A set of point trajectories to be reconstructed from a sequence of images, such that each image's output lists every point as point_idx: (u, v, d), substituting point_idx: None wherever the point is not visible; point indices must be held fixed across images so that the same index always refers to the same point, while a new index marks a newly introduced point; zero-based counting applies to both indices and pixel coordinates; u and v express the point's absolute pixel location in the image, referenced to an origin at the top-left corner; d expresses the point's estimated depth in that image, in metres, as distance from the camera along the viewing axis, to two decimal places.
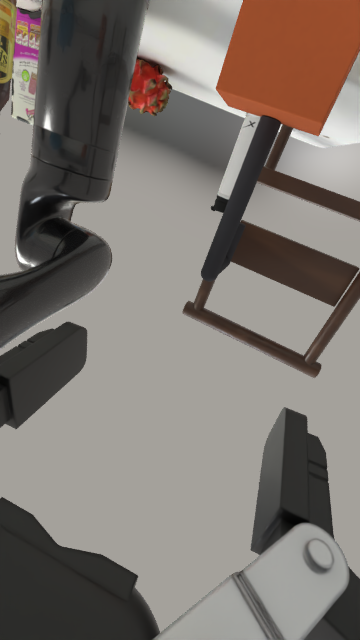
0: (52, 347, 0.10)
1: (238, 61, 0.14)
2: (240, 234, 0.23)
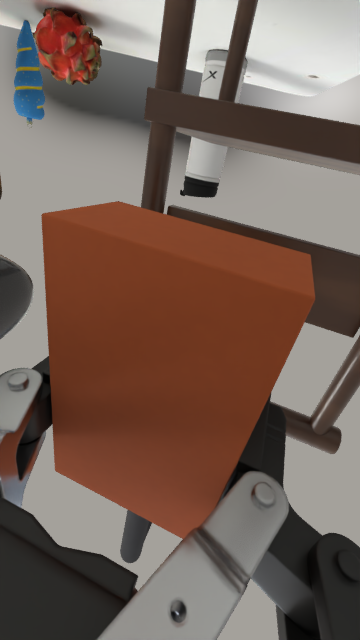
0: None
1: (70, 457, 0.10)
2: None
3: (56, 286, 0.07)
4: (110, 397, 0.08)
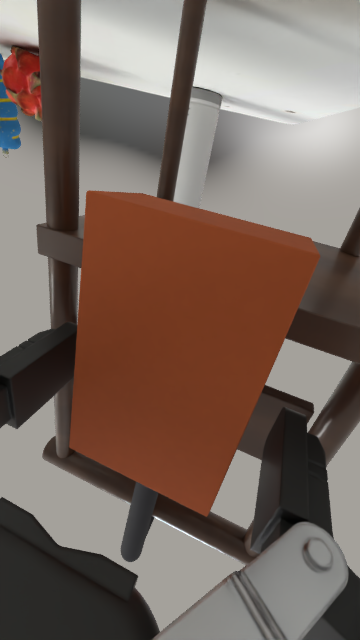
0: (53, 347, 0.10)
1: (86, 431, 0.10)
2: None
3: (92, 256, 0.08)
4: (133, 362, 0.08)
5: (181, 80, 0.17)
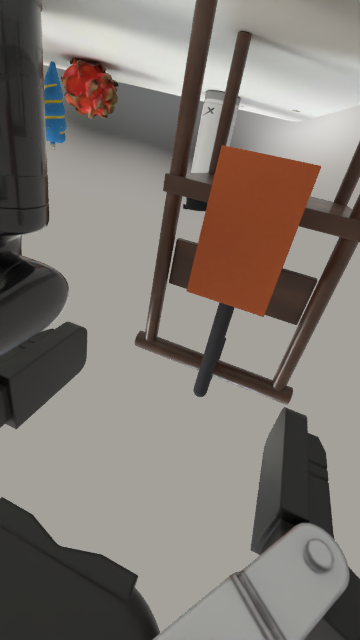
0: (52, 347, 0.10)
1: (200, 277, 0.20)
2: (222, 346, 0.29)
3: (220, 176, 0.17)
4: (233, 229, 0.18)
5: (231, 91, 0.26)
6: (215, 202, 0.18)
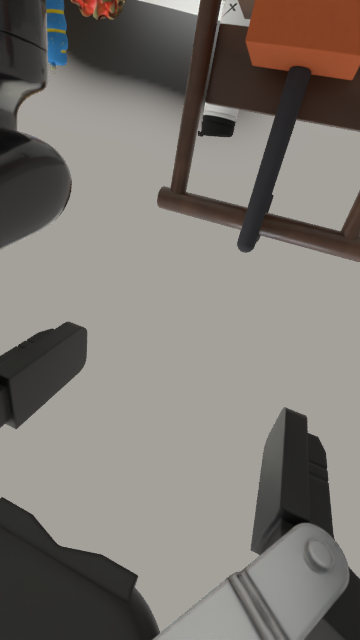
0: (52, 347, 0.10)
1: (268, 7, 0.13)
2: (269, 205, 0.23)
3: None
4: None
5: None
6: None
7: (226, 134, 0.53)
